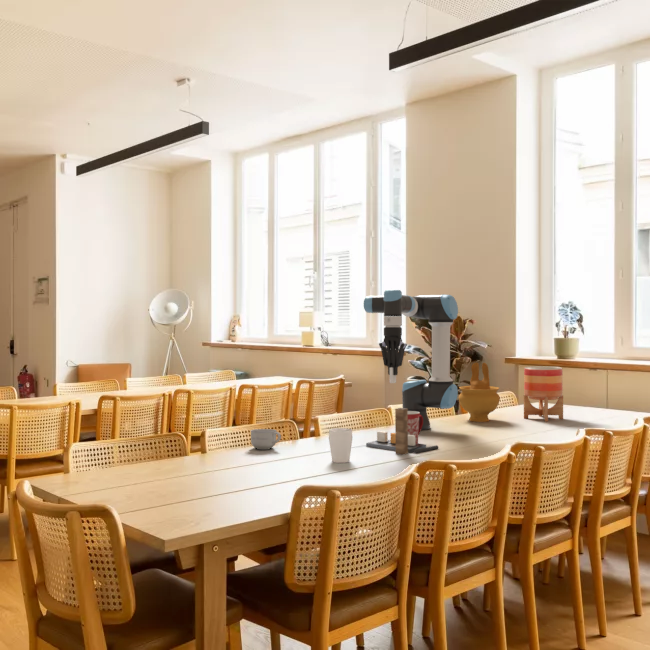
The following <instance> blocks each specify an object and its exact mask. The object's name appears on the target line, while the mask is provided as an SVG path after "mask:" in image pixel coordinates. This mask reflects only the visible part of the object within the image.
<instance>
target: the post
mask: <svg viewBox="0 0 650 650" xmlns="http://www.w3.org/2000/svg"><path fill="white" fill-rule="evenodd" d="M394 410H395V413H394V414H395V419H394V420H395V421H394V422H395V424H394V426H395V433H396V451H395V455H396V454H397V455H401V456H402V455H407V454H408V409H407V408H403V407H397V408H395V409H394Z"/></svg>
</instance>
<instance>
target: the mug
mask: <svg viewBox="0 0 650 650" xmlns="http://www.w3.org/2000/svg"><path fill="white" fill-rule="evenodd" d="M419 414H420V412H416V411H408V435H415V443H417V444H419V435H420V433H421V431H422V430H421V428H422V425H423V417H422V416H421V415H419ZM419 418H420V423H419Z"/></svg>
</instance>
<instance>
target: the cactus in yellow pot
mask: <svg viewBox="0 0 650 650" xmlns="http://www.w3.org/2000/svg"><path fill="white" fill-rule="evenodd" d="M481 371H482V374H483V378H482V380H480V378H479V374H480V364H479V363H478V362H474V363H472V365H471V374H472V375H471V378H470V381H469V382H470V385H463V386H459V387H458V388H459V389H460V390H461V393H460V394H458V396H457V399H458V401H459V404H460V406H461V408H462V409H463V410H464V411H466V412H467V413H469V416H470V417H469V419H468V421H469V420H470V422H477V423H485V422H490V419H489V414H490V413H492V412H494V411H495V410H496V409H497V407H498V406H499V403H500V402H501V401H500V400H501V397H500V395H499V394H498V393H497V392H498V390H499V389H500V387H497V386H491V385H490V375H489V373H490V372H489V366H488V364H487V363H486V362H482V365H481Z"/></svg>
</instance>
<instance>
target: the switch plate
mask: <svg viewBox="0 0 650 650" xmlns="http://www.w3.org/2000/svg"><path fill="white" fill-rule="evenodd" d="M365 444H366V445H365V446H366V447H367V448H375V449H381V450H387V451H394V452H396V444H395V443H391V439H388V441H387V442H381V441H377V440H373V441H370V442H366V443H365ZM426 447H427V444H423V443H418V444H417V443H415V445H414V446H410V445H408V453H415V452H414V450H416V449H421V448H426ZM408 453H407V454H408Z"/></svg>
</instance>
